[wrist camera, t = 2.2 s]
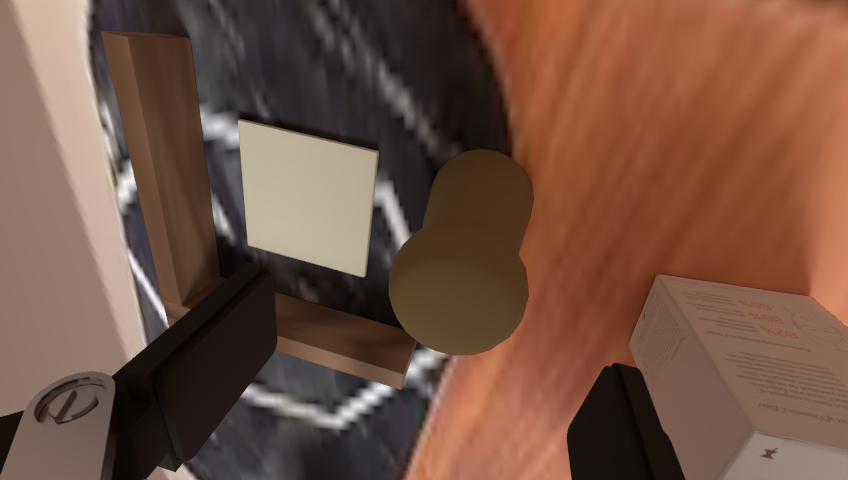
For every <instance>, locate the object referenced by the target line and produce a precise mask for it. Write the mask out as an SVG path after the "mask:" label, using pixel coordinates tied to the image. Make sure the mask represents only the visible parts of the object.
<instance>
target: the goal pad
mask: <svg viewBox="0 0 848 480" xmlns="http://www.w3.org/2000/svg"><path fill="white" fill-rule="evenodd" d="M238 128H239V140H240V153H241V165H242V177H243V190H244V202H245V215H246V227H247V240H248V245H249V246H252V247H256V248H259V249H263V250H267V251H270V252H274V253H277V254H281V255H285V256H288V257H292V258H295V259H299V260H303V261H306V262H310V263H313V264H317V265H320V266H324V267H328V268H331V269H335V270H338V271H342V272H346V273H349V274H353V275H356V276H360V277H365V276H366V271H367V262H368V252H369V243H370V233H371V223H372V214H373V204H374V195H375V185H376V176H377V166H378V157H379V151H377V150H372V149H368V148H364V147H359V146H355V145H351V144H347V143H342V142H338V141H334V140H329V139H325V138H321V137H317V136H312V135H308V134H304V133H299V132H295V131H291V130H286V129H282V128H278V127H274V126H269V125H265V124H261V123H256V122H252V121H248V120H244V119H241V120H238Z"/></svg>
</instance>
